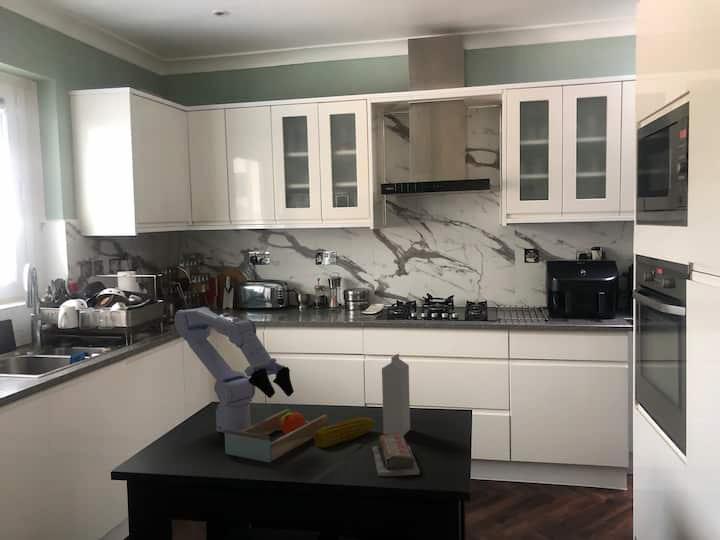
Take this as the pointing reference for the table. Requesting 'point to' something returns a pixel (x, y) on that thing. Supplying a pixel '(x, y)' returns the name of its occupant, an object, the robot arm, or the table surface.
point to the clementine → (291, 422)
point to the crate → (289, 439)
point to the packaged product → (394, 457)
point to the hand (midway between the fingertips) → (281, 394)
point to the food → (343, 431)
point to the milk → (396, 397)
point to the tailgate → (247, 445)
